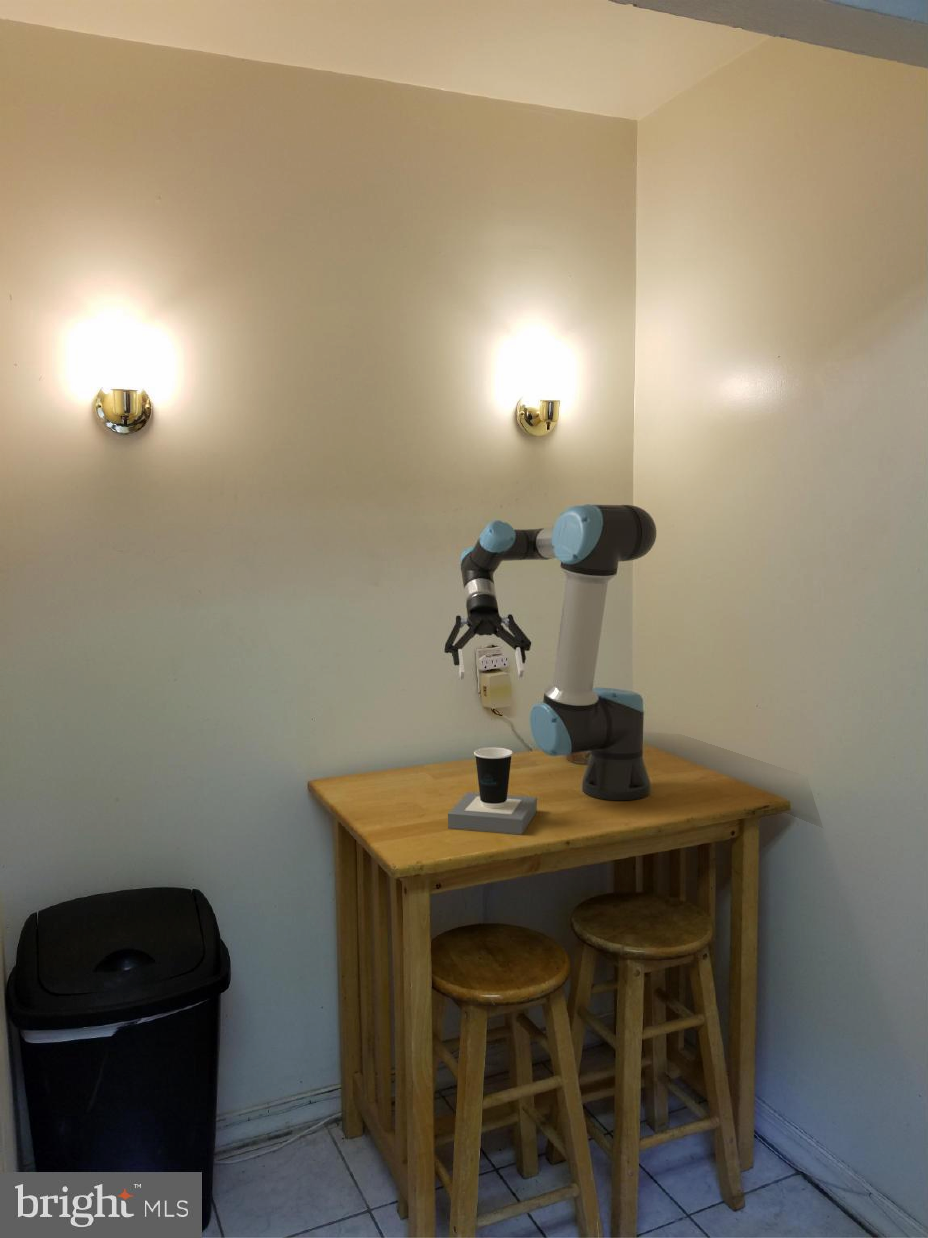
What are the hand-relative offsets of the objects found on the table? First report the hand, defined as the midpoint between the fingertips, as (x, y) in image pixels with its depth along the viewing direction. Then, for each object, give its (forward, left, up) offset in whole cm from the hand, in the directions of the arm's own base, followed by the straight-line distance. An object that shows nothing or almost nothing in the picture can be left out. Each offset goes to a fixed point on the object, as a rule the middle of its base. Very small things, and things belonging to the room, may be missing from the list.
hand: (492, 674), depth 210 cm
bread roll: (-17, -28, -26) cm, 42 cm away
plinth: (-6, +23, -26) cm, 35 cm away
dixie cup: (-6, +23, -23) cm, 33 cm away
